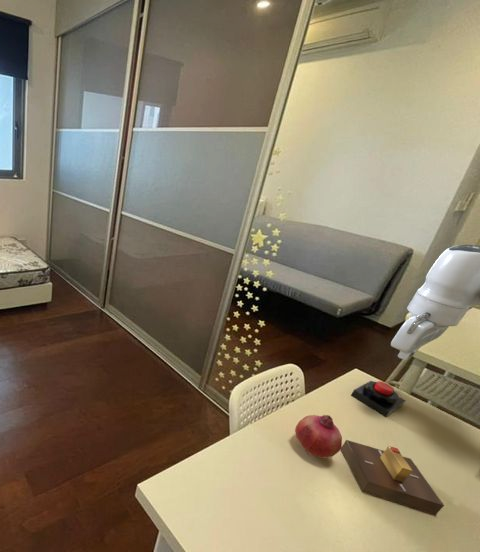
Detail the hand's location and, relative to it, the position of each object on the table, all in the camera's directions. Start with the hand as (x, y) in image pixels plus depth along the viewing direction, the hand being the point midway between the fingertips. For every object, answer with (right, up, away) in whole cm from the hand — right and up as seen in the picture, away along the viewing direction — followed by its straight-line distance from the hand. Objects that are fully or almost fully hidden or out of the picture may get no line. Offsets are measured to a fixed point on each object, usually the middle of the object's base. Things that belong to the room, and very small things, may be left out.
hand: (404, 357), depth 81 cm
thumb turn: (-20, -19, -17) cm, 32 cm away
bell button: (-1, -10, +5) cm, 11 cm away
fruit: (-32, -18, -11) cm, 38 cm away
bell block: (-2, -14, +6) cm, 15 cm away
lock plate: (-20, -21, -16) cm, 33 cm away
